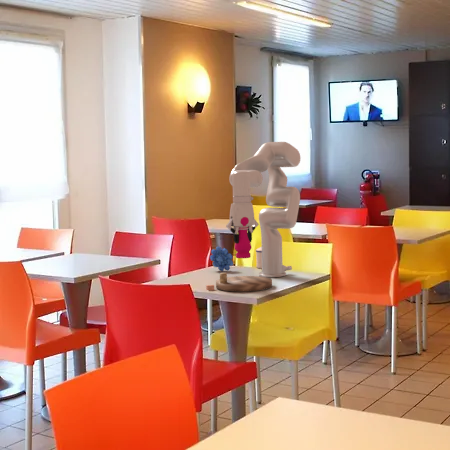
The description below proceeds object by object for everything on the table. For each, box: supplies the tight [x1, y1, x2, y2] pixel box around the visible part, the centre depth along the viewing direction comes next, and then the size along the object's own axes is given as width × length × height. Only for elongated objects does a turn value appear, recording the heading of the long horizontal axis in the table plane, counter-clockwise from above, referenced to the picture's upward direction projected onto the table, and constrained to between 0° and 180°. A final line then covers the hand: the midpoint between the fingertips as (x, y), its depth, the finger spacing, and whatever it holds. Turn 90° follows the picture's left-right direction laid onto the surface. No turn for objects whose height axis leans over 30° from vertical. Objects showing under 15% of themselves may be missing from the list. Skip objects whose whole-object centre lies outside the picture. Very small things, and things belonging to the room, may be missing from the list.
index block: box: [205, 284, 215, 291], centre depth 337 cm, size 3×2×2 cm, turn 106°
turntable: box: [215, 272, 273, 292], centre depth 341 cm, size 24×24×6 cm
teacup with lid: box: [255, 246, 262, 270], centre depth 396 cm, size 12×9×12 cm
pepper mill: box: [234, 217, 252, 259], centre depth 339 cm, size 7×7×20 cm
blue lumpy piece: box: [209, 246, 234, 272], centre depth 387 cm, size 12×7×12 cm, turn 75°
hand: (242, 242), depth 339 cm, fingers closed on pepper mill, 5 cm apart
